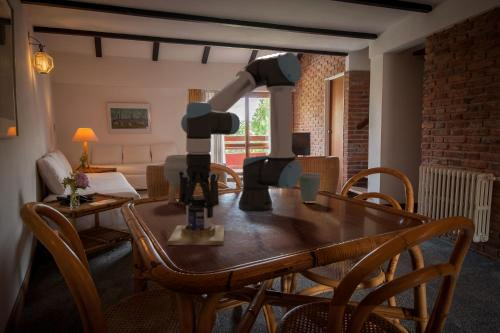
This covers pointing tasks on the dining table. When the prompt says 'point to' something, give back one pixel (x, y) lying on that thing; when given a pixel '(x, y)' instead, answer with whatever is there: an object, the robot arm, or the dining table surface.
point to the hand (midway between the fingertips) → (198, 226)
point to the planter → (174, 172)
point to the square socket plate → (197, 236)
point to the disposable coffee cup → (309, 186)
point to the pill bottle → (197, 214)
